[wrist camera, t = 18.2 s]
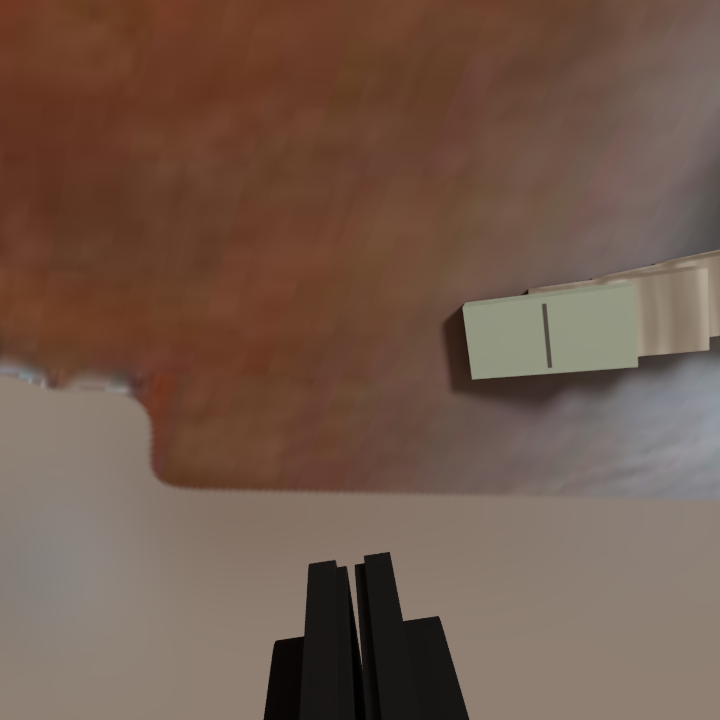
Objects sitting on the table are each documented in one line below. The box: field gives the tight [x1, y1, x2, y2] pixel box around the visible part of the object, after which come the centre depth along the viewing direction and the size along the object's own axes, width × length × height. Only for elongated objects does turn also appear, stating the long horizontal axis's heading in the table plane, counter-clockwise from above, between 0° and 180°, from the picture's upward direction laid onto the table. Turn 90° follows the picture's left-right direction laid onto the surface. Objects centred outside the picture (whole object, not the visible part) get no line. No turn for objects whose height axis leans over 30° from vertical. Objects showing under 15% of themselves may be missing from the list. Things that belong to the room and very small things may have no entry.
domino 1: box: [463, 282, 638, 379], centre depth 32 cm, size 2×5×10 cm
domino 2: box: [528, 265, 709, 356], centre depth 33 cm, size 2×5×10 cm
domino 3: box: [592, 251, 720, 337], centre depth 32 cm, size 2×5×10 cm
